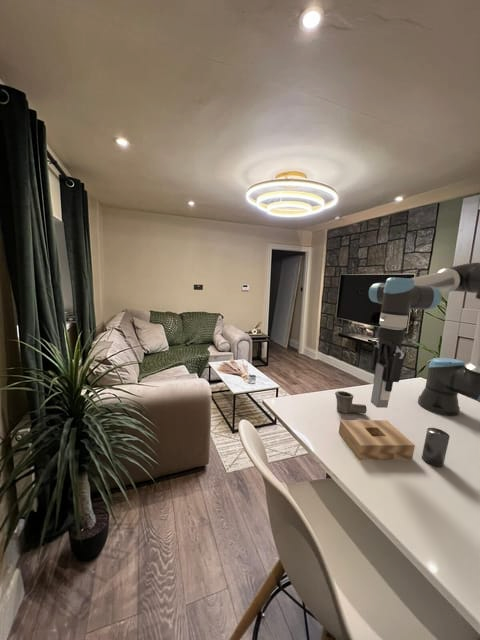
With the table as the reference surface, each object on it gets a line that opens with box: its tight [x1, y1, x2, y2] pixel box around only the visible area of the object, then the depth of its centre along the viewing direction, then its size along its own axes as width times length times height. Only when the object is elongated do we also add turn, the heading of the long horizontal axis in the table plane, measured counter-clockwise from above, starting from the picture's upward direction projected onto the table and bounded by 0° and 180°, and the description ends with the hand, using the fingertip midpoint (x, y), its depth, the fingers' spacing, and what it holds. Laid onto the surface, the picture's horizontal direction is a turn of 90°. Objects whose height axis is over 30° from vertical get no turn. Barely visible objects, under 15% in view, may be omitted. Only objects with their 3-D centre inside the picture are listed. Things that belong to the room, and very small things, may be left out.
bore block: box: [338, 419, 416, 461], centre depth 89 cm, size 18×14×5 cm
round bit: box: [421, 427, 451, 469], centre depth 82 cm, size 6×6×10 cm
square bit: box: [370, 363, 390, 409], centre depth 85 cm, size 4×4×14 cm
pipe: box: [334, 390, 367, 415], centre depth 110 cm, size 6×13×8 cm, turn 78°
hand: (380, 396), depth 86 cm, fingers closed on square bit, 4 cm apart
